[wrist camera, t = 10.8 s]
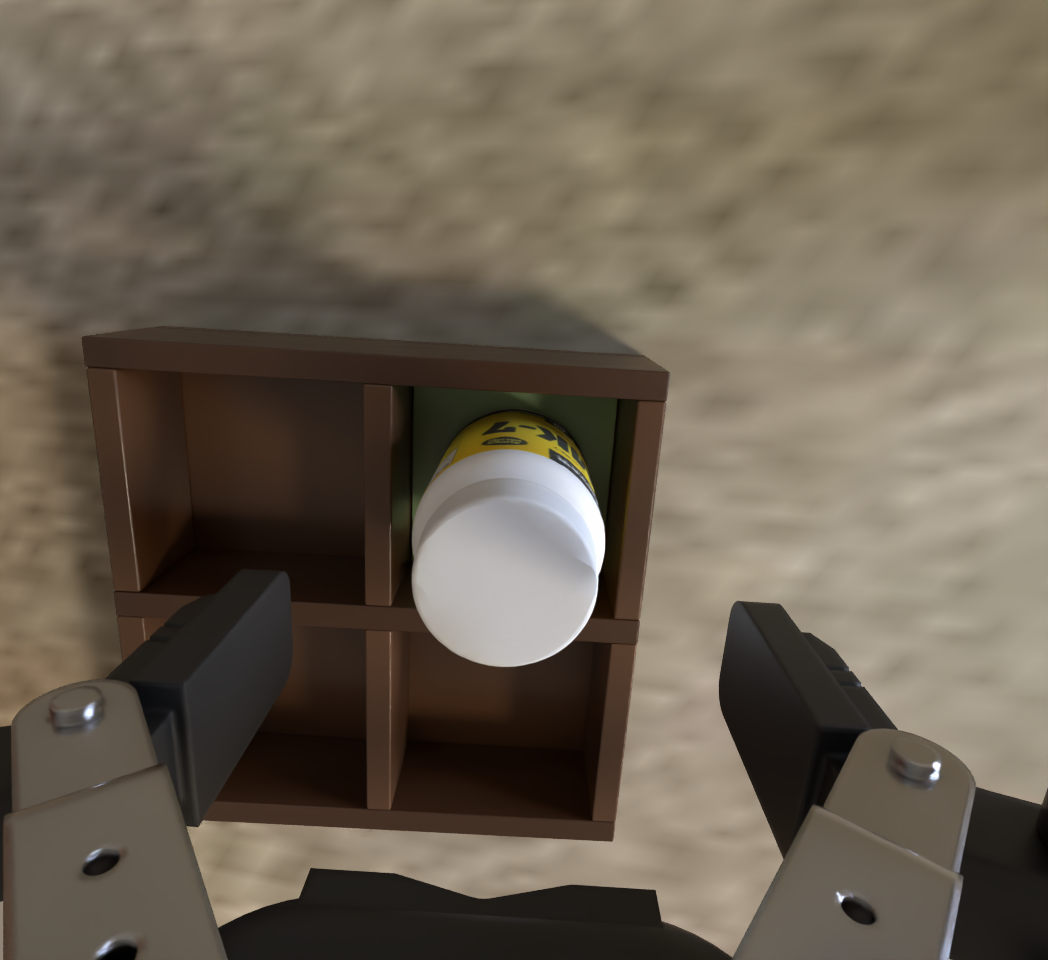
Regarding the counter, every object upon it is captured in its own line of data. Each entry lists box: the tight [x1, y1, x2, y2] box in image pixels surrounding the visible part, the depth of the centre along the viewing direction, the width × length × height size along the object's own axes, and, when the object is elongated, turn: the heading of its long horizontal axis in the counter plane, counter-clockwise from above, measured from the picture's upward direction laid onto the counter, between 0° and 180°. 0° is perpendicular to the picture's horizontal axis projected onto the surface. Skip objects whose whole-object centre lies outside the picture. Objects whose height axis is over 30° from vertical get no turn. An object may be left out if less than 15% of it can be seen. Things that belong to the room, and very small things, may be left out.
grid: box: [82, 326, 670, 842], centre depth 22 cm, size 16×16×4 cm
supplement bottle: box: [412, 408, 605, 667], centre depth 18 cm, size 5×5×8 cm
